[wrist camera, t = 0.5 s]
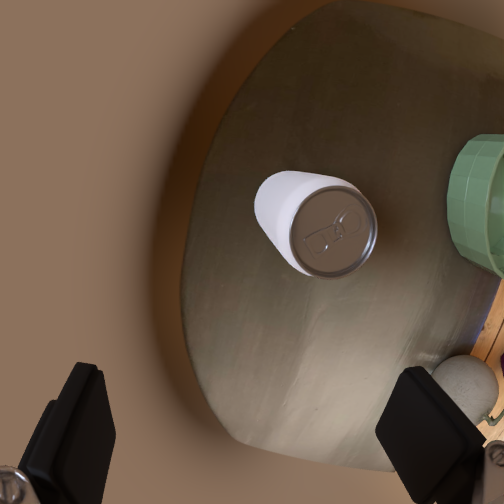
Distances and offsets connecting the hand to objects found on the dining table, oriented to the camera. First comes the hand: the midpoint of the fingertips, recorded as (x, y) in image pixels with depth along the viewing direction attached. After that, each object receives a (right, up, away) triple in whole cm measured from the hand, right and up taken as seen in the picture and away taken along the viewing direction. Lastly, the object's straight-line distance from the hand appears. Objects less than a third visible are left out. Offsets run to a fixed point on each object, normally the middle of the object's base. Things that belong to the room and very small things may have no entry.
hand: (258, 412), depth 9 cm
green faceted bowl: (+30, +12, +24) cm, 40 cm away
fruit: (+29, -13, +31) cm, 44 cm away
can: (+3, +9, +21) cm, 23 cm away
